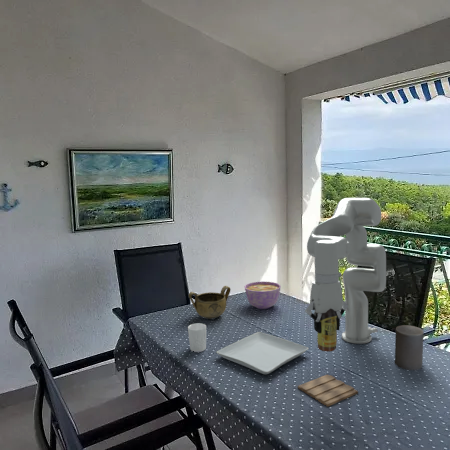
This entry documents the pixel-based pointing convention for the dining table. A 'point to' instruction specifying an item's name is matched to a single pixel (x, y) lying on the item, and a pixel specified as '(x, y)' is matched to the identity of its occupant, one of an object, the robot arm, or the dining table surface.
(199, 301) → the ceramic bowl
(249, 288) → the bowl of food
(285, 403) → the dining table surface
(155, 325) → the dining table surface
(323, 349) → the sauce bottle
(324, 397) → the trivet
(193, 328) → the white cup
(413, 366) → the pillar candle
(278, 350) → the square plate
